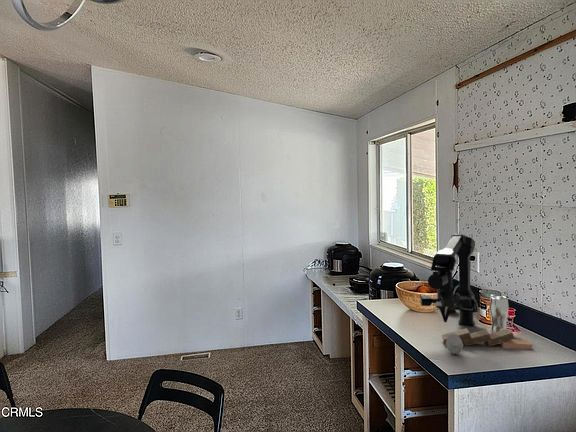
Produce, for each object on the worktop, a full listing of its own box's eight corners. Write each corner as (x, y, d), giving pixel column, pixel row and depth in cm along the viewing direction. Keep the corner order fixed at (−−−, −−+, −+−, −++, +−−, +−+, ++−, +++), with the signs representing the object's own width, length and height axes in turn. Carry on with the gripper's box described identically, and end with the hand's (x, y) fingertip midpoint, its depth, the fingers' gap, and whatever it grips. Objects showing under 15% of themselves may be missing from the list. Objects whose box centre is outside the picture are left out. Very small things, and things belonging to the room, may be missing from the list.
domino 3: (487, 340, 153) (512, 332, 152) (481, 336, 158) (505, 328, 157) (489, 346, 153) (514, 338, 152) (483, 342, 158) (507, 334, 157)
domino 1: (443, 339, 156) (469, 332, 154) (441, 335, 161) (466, 328, 158) (445, 345, 156) (471, 338, 153) (443, 340, 161) (468, 333, 158)
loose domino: (503, 343, 151) (532, 344, 149) (499, 338, 156) (526, 339, 154) (503, 349, 152) (532, 350, 150) (499, 344, 156) (526, 345, 154)
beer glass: (506, 330, 171) (506, 295, 170) (509, 335, 164) (509, 300, 163) (488, 328, 173) (488, 295, 172) (491, 334, 166) (491, 299, 166)
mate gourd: (440, 310, 202) (439, 281, 202) (455, 309, 202) (455, 280, 201) (445, 314, 195) (445, 284, 194) (461, 314, 195) (461, 284, 194)
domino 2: (463, 340, 154) (489, 333, 152) (460, 336, 159) (485, 329, 157) (465, 346, 154) (491, 339, 152) (462, 341, 159) (487, 335, 157)
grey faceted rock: (461, 350, 150) (461, 332, 150) (465, 357, 143) (465, 339, 143) (444, 349, 152) (444, 331, 151) (447, 356, 145) (447, 338, 144)
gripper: (423, 288, 153) (423, 328, 154) (474, 289, 149) (475, 329, 150) (419, 281, 164) (420, 318, 164) (467, 282, 160) (467, 320, 161)
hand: (445, 322), depth 160 cm, fingers closed
